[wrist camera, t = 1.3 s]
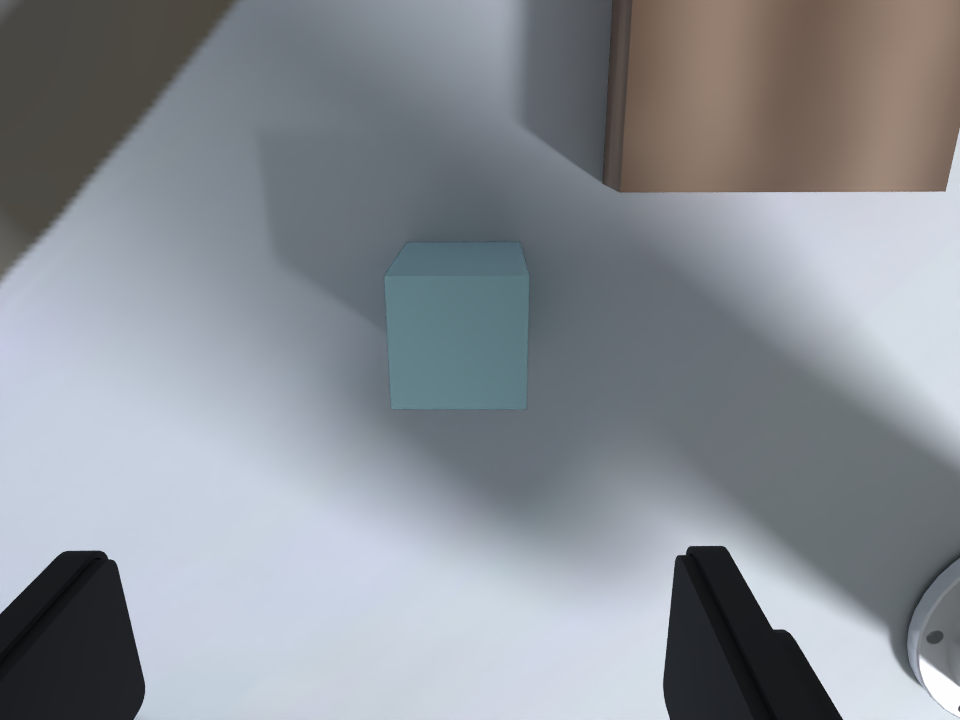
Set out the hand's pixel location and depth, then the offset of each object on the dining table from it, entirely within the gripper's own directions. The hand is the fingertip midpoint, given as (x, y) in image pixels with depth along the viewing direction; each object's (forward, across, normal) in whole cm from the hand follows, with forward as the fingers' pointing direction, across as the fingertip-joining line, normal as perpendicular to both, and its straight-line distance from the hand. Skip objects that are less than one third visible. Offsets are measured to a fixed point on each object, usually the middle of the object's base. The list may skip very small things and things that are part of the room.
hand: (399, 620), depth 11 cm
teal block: (+20, 0, 0) cm, 21 cm away
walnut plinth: (+20, -13, -11) cm, 26 cm away
